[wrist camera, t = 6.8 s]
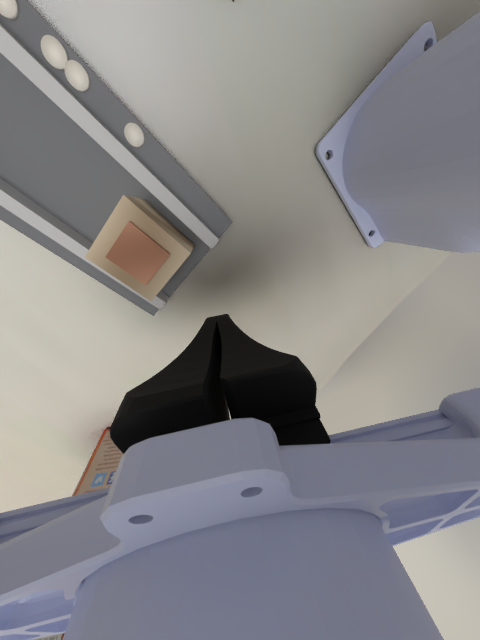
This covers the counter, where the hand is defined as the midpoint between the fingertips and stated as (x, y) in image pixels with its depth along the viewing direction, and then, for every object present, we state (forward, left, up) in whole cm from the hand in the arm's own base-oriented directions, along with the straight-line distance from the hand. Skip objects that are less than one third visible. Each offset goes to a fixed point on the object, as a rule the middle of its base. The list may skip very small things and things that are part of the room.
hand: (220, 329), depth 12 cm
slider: (+6, 0, -5) cm, 8 cm away
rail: (+11, 0, -6) cm, 13 cm away
